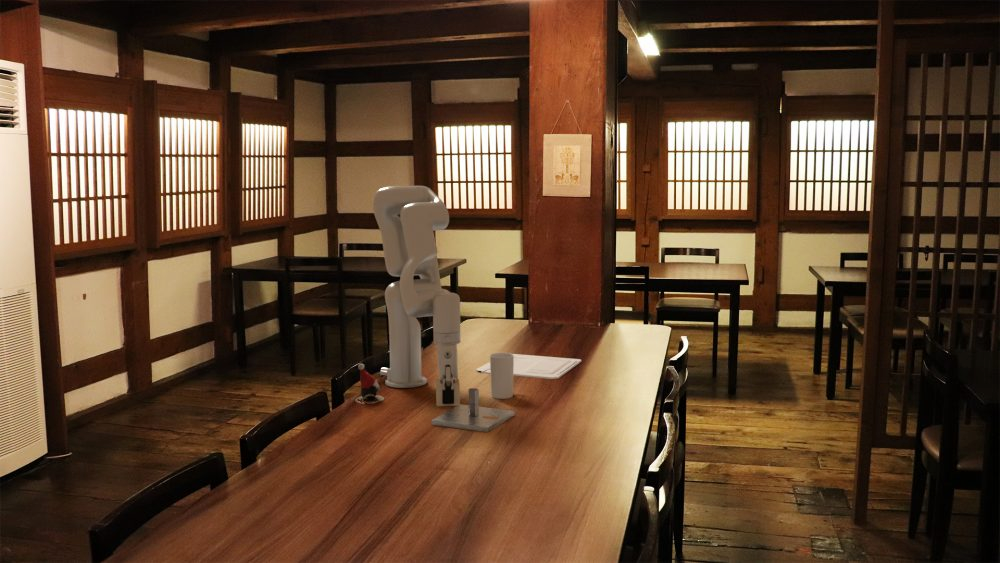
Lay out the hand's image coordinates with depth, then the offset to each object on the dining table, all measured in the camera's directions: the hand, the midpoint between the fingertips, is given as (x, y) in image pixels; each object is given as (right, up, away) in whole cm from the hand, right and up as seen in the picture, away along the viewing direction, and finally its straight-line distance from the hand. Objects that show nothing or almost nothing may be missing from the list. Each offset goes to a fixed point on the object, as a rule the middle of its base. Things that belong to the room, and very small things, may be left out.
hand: (447, 399), depth 239 cm
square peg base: (+8, -3, -17) cm, 18 cm away
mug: (+16, 0, +8) cm, 18 cm away
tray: (+24, +4, +44) cm, 50 cm away
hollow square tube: (0, -1, 0) cm, 1 cm away
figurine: (-23, -1, +4) cm, 23 cm away
